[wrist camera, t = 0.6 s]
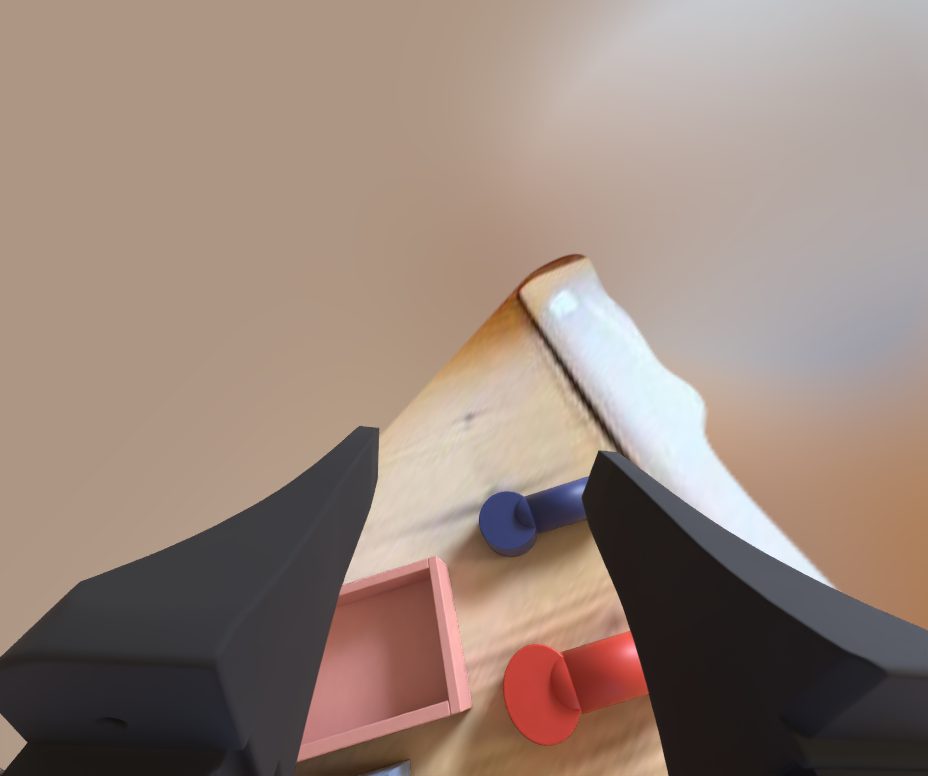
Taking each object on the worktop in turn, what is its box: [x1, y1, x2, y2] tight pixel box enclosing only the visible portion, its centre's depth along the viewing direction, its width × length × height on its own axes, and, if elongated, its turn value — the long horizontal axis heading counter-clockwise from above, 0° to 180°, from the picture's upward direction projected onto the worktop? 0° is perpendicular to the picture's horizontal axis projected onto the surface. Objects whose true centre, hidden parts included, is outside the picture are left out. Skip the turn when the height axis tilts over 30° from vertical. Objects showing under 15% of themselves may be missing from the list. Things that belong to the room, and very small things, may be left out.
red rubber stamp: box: [503, 631, 649, 746], centre depth 19 cm, size 10×4×3 cm, turn 103°
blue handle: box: [479, 476, 589, 557], centre depth 24 cm, size 10×4×3 cm, turn 103°
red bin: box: [297, 556, 473, 762], centre depth 21 cm, size 14×8×3 cm, turn 103°
